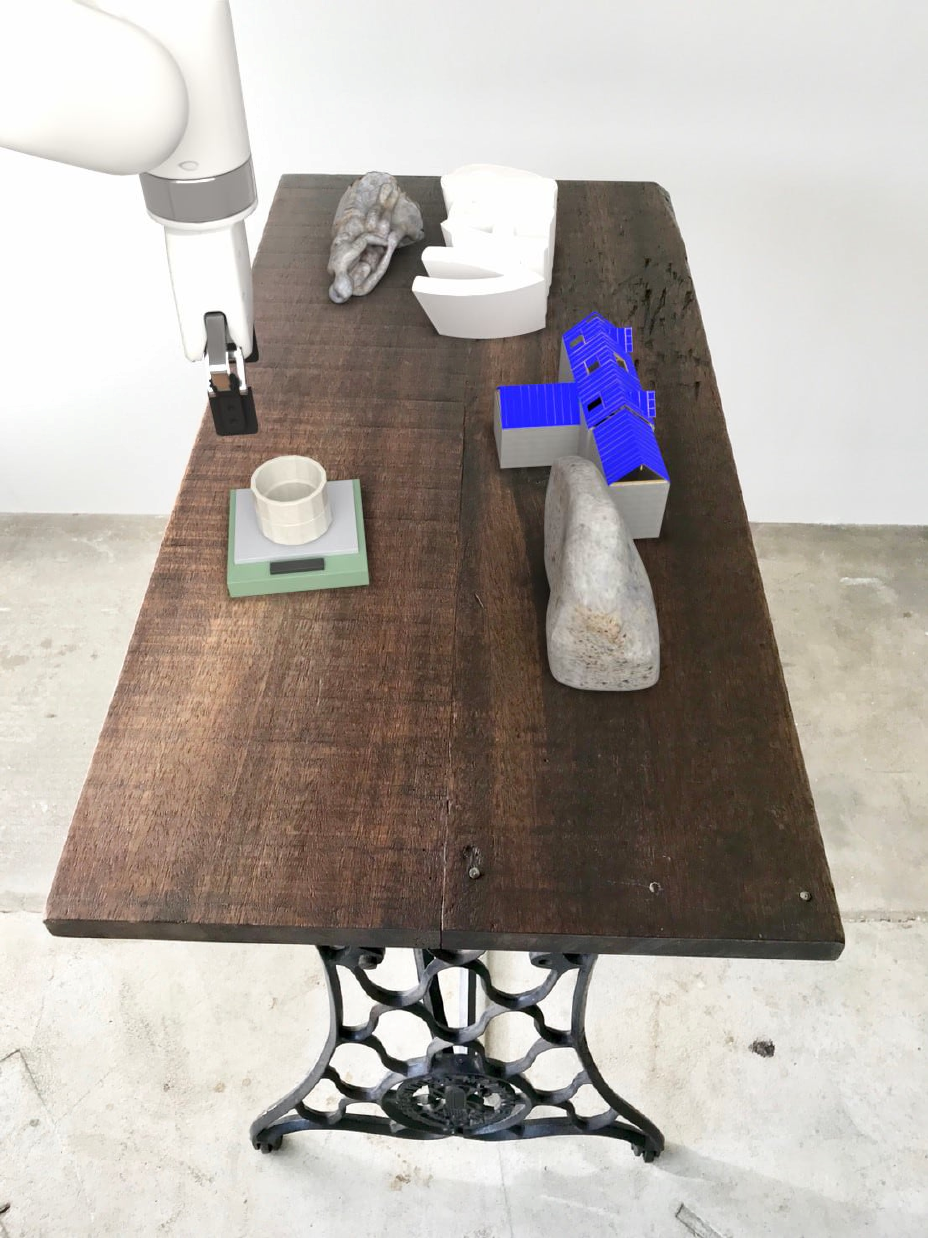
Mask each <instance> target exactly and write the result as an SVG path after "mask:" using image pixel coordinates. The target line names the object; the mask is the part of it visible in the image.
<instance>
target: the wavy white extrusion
mask: <svg viewBox="0 0 928 1238" xmlns="http://www.w3.org/2000/svg"><path fill="white" fill-rule="evenodd" d="M440 187H441V192H442V196H443V200H444V206H445V210H446V215H447V219H445V220H443V221H442V222H440V223H439V224H440V229H441V232H442V235H443V239H444V243H445V246H427V247H426V248H425V249H424V250H423V251H422V252H421V262H422V264H423V266H424V268H425V270H426V273H427V274H428V276H423V275H416V276H415V278H414V280H413V282H412V287H411V291H412V293H413V295H414V297H415V298H416V300H417V301H418V303H419V304H420V306H421V307H422V309H423V310H424V312H425V314H426V316H427V317H428V319H429V321H430V322H431V323H432V325H433V327H434V328H435V330H436V331H437V333H438V335H441V336H446V337H453V338H460V339H473V340H483V339H484V340H486V339H487V340H488V339H490V340H491V339H502V338H511V337H518V336H521V335H527V334H530V333H534V332H537V331H539V330H542V329H545V328H546V315H547V313H548V312H547V311H548V297H549V294H550V286H551V285H552V279H553V278H552V277H553V268H554V256H555V243H556V225H557V207H558V190H559V189H558V188H559V187H558V183H557V181H556V180H555V179H554V178H550V177H549V178H548V177H545V176H542V175H540V174H537V173H535V172H531V171H528V170H525V169H521V168H518V167H517V168H516V167H514V166H513V167H512V166H507V165H501V164H494V163H493V164H492V163H473V164H472V163H471V164H467V165H463V166H460V167H458V168H456V169H454V170H453V171H452V172H451V173H450V174H445V173H444V174H443V175H441V178H440Z"/></svg>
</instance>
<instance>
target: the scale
mask: <svg viewBox="0 0 928 1238" xmlns="http://www.w3.org/2000/svg"><path fill="white" fill-rule="evenodd" d="M327 484H328V492H329V499H330V506H331V516H332V521H331V523H330V525H329V527H328V529H327V531H326V532H325V533H324V534H322V535H321V536H320V537H319V538H317V539H315V540H313V541H311V542H309V543H306V544H301V545H284V544H279V543H275V542H274V541H272V540H270V539H269V538H267V537H265V536H264V534H263V533H262V531H261V530H260V528H259V524H258V519H257V514H256V510H255V505H254V501H253V496H252V491H251V487H250V488H236V489H235V488H234V489H230V490H229V512H228V513H229V514H228V515H229V516H228V517H229V518H228V539H227V541H228V542H227V567H226V568H227V569H226V570H227V572H226V585H227V589H228V593H229V596H230V598H242V597H251V596H263V595H272V594H283V593H284V594H285V593H294V592H295V593H296V592H304V591H317V590H326V589H336V588H348V587H358V586H368V585H370V575H369V563H368V555H367V554H368V553H367V543H366V534H365V523H364V521H365V520H364V512H363V511H364V510H363V501H362V491H361V481H360V478H354V479H342V480H331V481H330V480H329V481H327Z"/></svg>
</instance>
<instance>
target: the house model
mask: <svg viewBox="0 0 928 1238" xmlns="http://www.w3.org/2000/svg"><path fill="white" fill-rule="evenodd" d="M595 314H596V315H597V316H594V315H595ZM592 316H594V317H593V318H592V319H590V318H591V317H592ZM598 316H599V317H598ZM588 319H590V320H588ZM587 320H588V322H587ZM560 343H561V344H560V355H559V367H558V368H559V369H558V377H557V382H555V383H554V382H553V383H537V384H534V383H533V384H518V385H517V384H516V385H499V386H498V387H496V388H495V389H494V405H493V406H494V407H493V408H494V409H493V434H494V439H495V444H496V451H497V456H498V461H499V467H500V469H512V468H513V469H514V468H528V467H530V468H531V467H548V466H550V467H551V466H552V464H553V462H554V461H556V460H557V459H558V458H561V457H566V456H579V457H582V458H584V459H586V460H589V461H591V462H592V463H594V464H595V465H596V467H597V468H598V470H599V471H600V473H601V474H602V476H603V478H604V479H605V481H606V483H607V485H608V487H609V489H610V491H611V493H612V495H613V497H614V499H615V501H616V503H617V505H618V507H619V509H620V511H621V513H622V515H623V517H624V520H625V522H626V524H627V526H628V528H629V530H630V533H631V536H632V539H633V540H634V539H636V540H637V539H652V538H653V539H654V538H659V537H660V533H661V528H662V525H663V524H662V523H663V519H664V514H665V511H666V510H665V509H666V504H667V499H668V495H669V491H670V486H671V480H670V477H669V474H668V471H667V469H666V466H665V465H666V464H665V462H664V460H663V457H662V454H661V451H660V448H659V444H658V442H657V439H656V437H655V433H654V432H655V429H656V425H655V422H654V419H653V418H655V419H656V418H657V413H656V411H657V410H656V394H655V393H656V391H655V390H643V388H642V384H641V382H640V379H639V376H638V373H637V370H636V366H635V365H634V362H633V359H632V357H631V354H630V353H633V352H634V347H633V346H634V345H633V327H632V326H631V327H629V326H628V327H616V326H615V325H614V324H613V323H611V322H610V321H609V320H607V319H606V318H605V317H603V316H602V315H601V314H600V313H599V312H597V311H595V310H594V311H593V312H591V313H590V314H589V315H587V316H586V317H585V318H584V319H582V320H580V321H579V322H577V324H575V325H574V326H572V327H571V328H570V329H569V330H567V331H566V332H564V333H563V334H562V335H561V342H560ZM599 398H600V400H601V403H600V404H598V405H597V406H595V407H594V408H592V409H591V410H590V411H589V408H588V406H589V405H590V404H591V403H593V402H595V401H596V400H598V399H599ZM612 414H613V415H612ZM603 420H604V421H603ZM597 424H598V425H597Z"/></svg>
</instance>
